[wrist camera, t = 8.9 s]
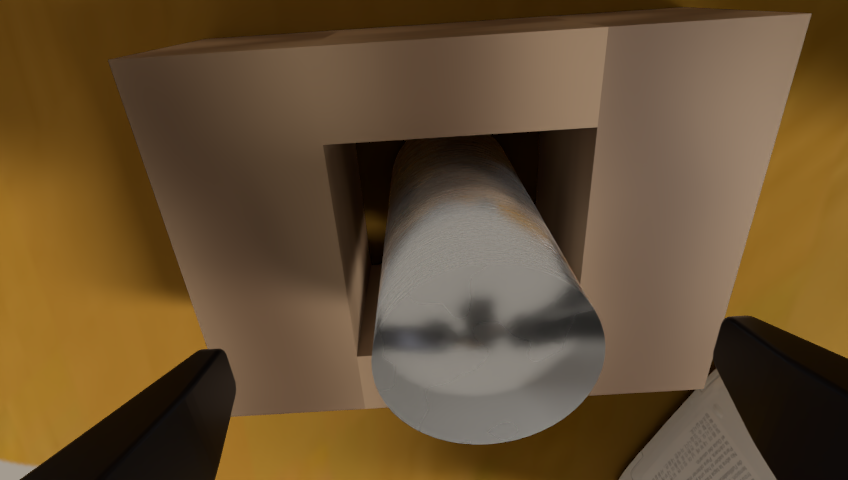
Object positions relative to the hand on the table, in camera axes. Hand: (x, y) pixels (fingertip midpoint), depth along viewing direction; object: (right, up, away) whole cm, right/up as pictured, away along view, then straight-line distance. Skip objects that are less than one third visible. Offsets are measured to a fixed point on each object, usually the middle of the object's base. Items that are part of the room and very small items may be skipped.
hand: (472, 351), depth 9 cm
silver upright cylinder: (0, +4, +8) cm, 9 cm away
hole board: (0, +4, +8) cm, 9 cm away
